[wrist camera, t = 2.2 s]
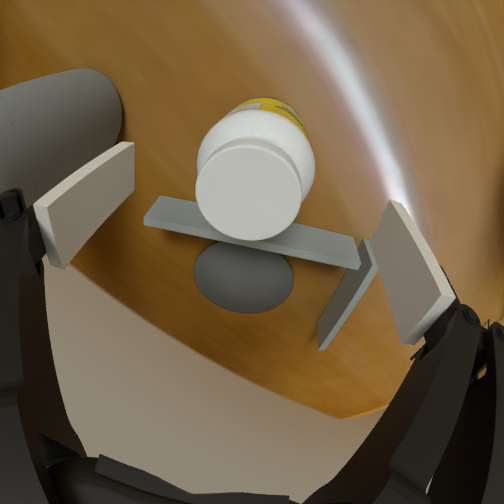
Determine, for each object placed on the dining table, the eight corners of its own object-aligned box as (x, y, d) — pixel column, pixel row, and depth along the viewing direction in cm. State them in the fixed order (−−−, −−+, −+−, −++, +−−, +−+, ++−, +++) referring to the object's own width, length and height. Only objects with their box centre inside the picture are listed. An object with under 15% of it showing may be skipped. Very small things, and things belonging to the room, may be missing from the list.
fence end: (316, 324, 35) (318, 349, 32) (363, 238, 26) (372, 265, 23) (322, 325, 35) (324, 350, 32) (370, 240, 26) (379, 266, 23)
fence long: (160, 202, 26) (144, 224, 23) (160, 195, 25) (143, 217, 22) (350, 243, 26) (357, 270, 23) (353, 237, 26) (361, 263, 23)
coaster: (192, 300, 34) (192, 302, 34) (197, 228, 27) (196, 230, 27) (278, 317, 35) (278, 320, 34) (306, 251, 28) (306, 253, 27)
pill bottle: (304, 170, 22) (319, 258, 13) (228, 171, 23) (191, 257, 14) (304, 94, 18) (326, 123, 9) (220, 98, 19) (163, 133, 10)
